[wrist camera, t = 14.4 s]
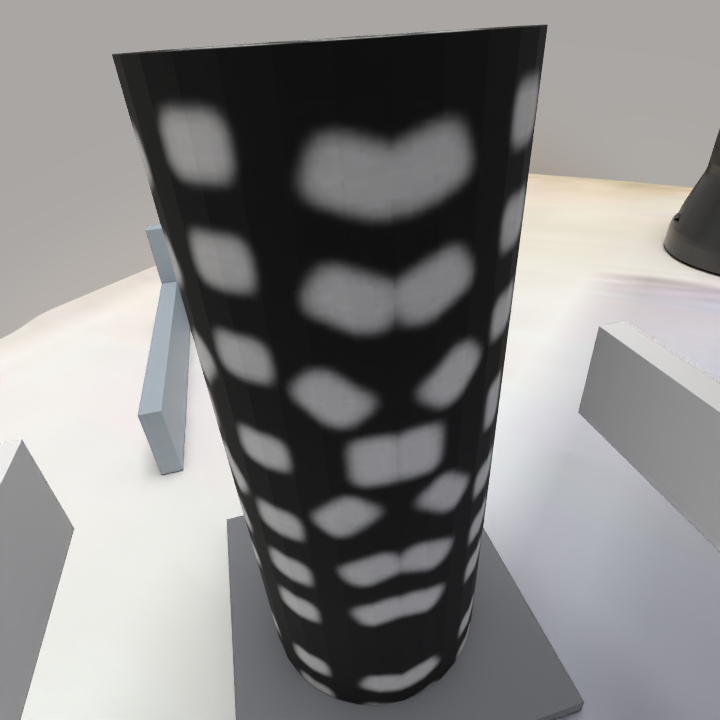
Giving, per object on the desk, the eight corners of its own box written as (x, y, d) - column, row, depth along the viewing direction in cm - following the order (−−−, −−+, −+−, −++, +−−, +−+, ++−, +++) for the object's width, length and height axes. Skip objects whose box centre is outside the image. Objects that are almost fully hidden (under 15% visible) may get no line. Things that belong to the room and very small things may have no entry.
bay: (383, 289, 48) (379, 194, 43) (468, 405, 32) (479, 279, 27) (176, 324, 44) (147, 225, 39) (161, 474, 29) (108, 343, 24)
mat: (446, 473, 27) (447, 465, 27) (580, 709, 18) (583, 702, 17) (229, 527, 25) (226, 519, 25) (244, 832, 15) (240, 826, 15)
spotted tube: (498, 560, 22) (588, 21, 11) (419, 758, 16) (438, 35, 5) (343, 492, 26) (292, 40, 15) (233, 633, 20) (15, 60, 9)
